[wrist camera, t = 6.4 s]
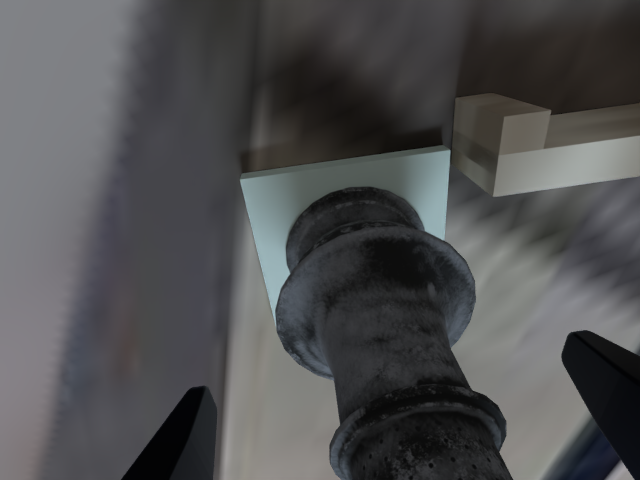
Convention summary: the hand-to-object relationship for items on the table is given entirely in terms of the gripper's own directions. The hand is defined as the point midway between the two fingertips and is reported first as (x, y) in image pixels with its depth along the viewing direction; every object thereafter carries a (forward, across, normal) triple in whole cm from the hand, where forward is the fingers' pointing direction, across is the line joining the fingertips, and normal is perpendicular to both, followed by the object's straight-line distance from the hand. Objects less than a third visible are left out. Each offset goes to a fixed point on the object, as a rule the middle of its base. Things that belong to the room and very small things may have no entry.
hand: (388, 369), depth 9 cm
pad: (+6, 0, 0) cm, 6 cm away
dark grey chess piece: (+6, 0, 0) cm, 6 cm away
